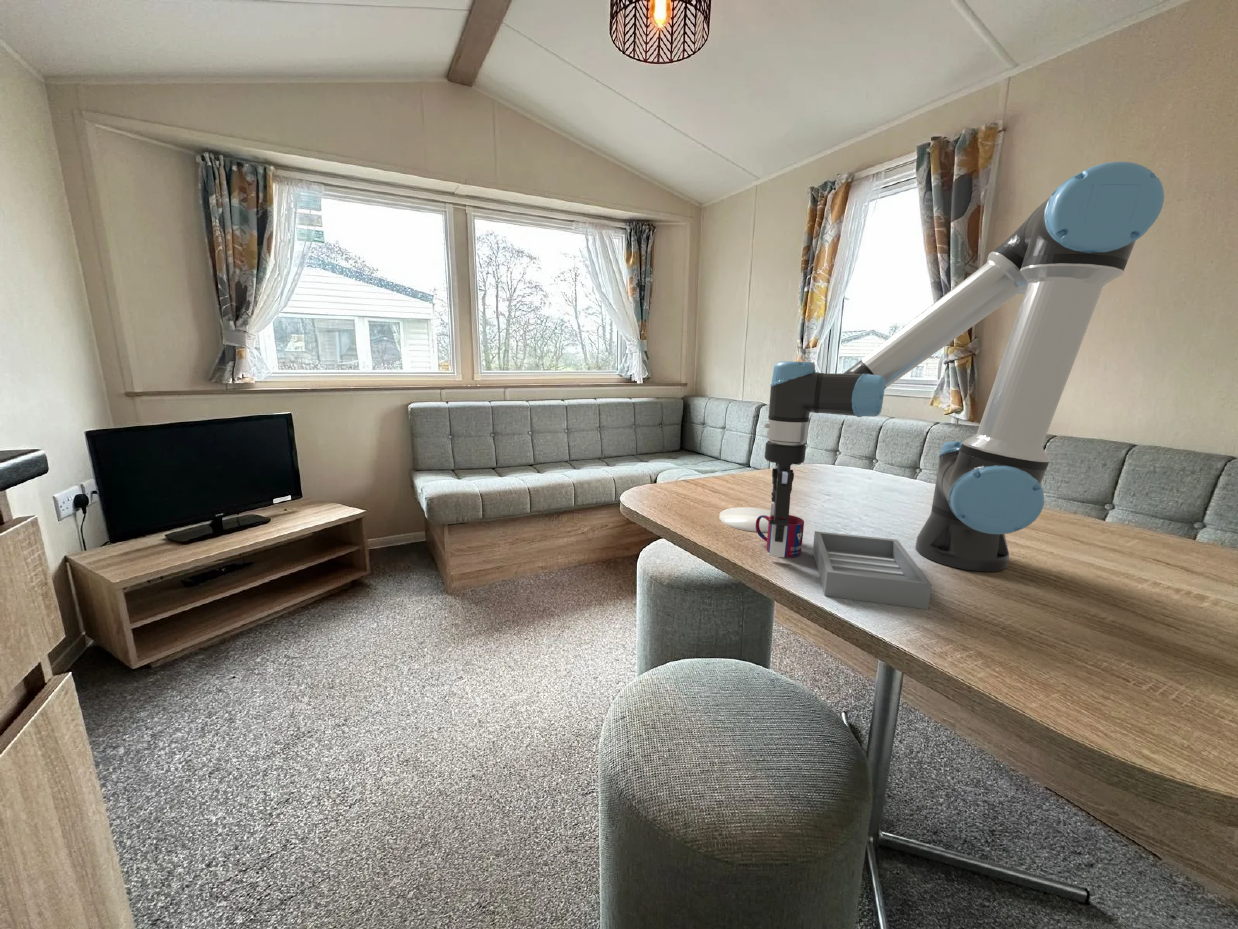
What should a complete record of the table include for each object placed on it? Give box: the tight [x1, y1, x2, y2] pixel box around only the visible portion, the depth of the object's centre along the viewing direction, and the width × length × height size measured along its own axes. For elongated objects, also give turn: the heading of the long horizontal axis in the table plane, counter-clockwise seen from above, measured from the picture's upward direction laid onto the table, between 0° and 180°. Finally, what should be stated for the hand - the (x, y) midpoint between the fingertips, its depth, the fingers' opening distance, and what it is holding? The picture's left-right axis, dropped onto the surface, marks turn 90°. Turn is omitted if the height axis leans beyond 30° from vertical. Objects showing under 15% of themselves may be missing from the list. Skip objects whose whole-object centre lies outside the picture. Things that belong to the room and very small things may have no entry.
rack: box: [812, 530, 933, 610], centre depth 86 cm, size 15×20×4 cm
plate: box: [718, 506, 771, 533], centre depth 117 cm, size 16×16×1 cm
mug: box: [756, 514, 805, 559], centre depth 99 cm, size 7×10×7 cm
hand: (775, 543), depth 99 cm, fingers open, 13 cm apart
